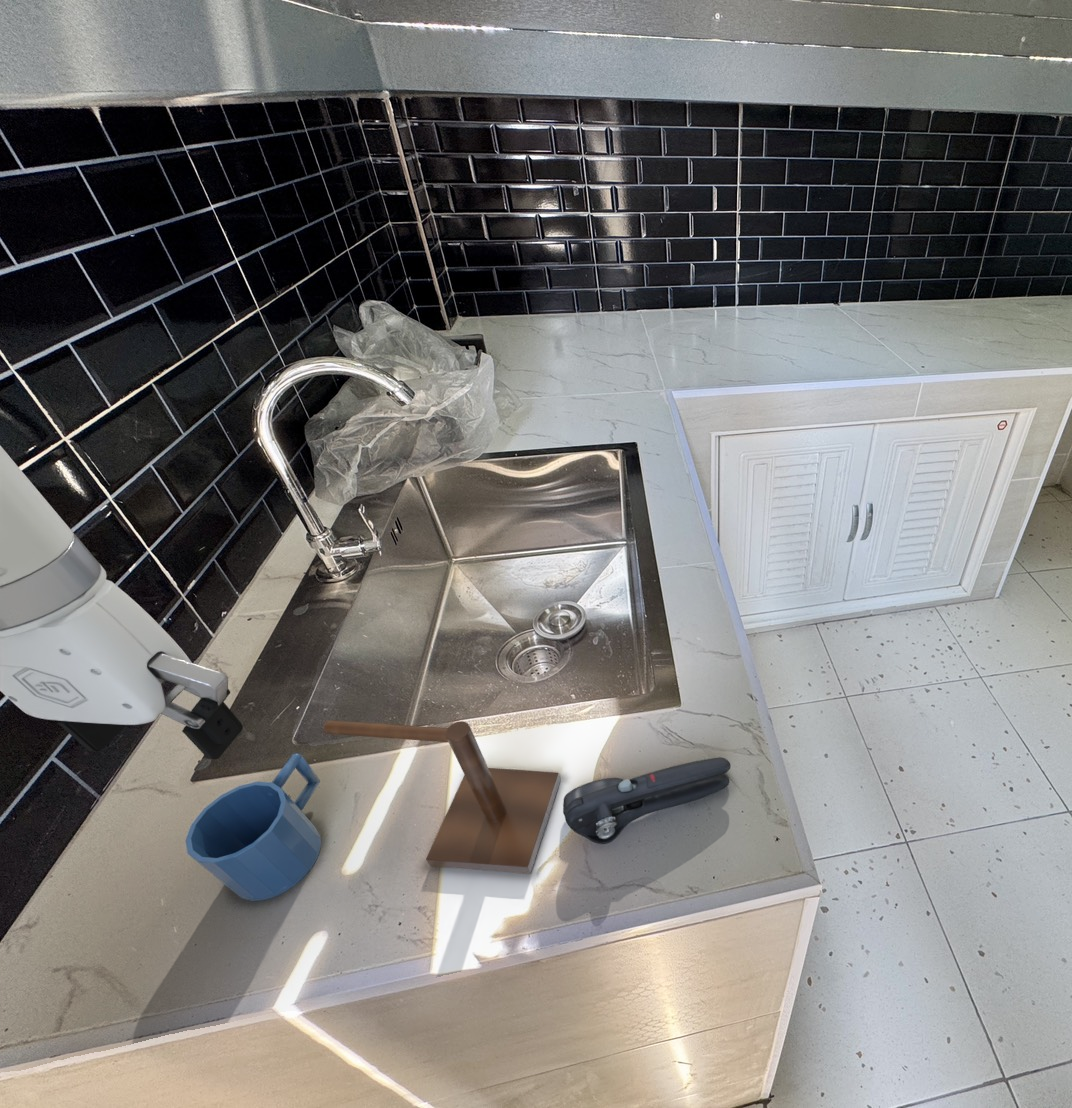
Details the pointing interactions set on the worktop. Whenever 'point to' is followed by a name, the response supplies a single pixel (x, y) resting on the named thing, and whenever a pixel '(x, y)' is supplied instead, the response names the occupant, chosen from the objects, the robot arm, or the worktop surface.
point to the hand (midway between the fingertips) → (169, 739)
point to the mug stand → (478, 802)
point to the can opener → (639, 797)
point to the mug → (258, 835)
